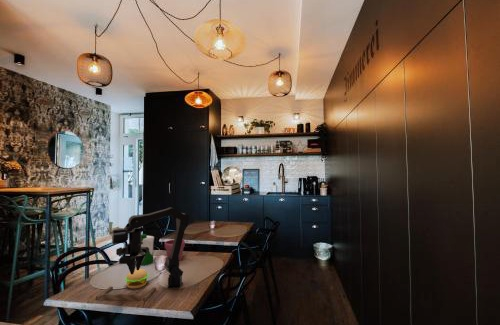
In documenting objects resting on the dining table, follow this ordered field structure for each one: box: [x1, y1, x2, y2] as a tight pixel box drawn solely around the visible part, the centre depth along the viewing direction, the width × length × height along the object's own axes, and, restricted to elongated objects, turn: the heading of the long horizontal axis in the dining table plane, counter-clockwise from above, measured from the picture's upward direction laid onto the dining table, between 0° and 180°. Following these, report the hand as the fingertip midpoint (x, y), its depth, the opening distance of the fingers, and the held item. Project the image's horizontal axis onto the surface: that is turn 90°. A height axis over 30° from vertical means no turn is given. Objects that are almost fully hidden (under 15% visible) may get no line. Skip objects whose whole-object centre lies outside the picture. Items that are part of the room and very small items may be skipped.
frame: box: [95, 286, 157, 302], centre depth 130 cm, size 26×11×2 cm, turn 85°
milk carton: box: [141, 233, 155, 267], centre depth 176 cm, size 9×9×20 cm
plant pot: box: [164, 239, 186, 261], centre depth 184 cm, size 14×14×13 cm
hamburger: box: [124, 268, 150, 290], centre depth 141 cm, size 12×12×9 cm
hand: (135, 272), depth 128 cm, fingers open, 5 cm apart
